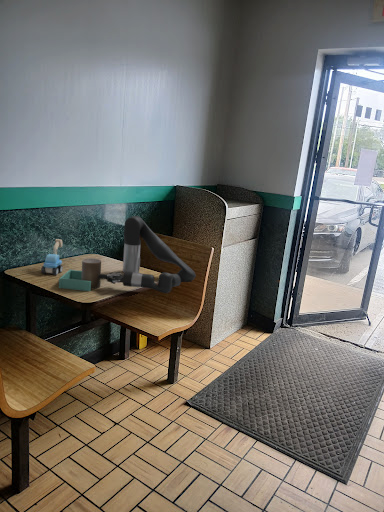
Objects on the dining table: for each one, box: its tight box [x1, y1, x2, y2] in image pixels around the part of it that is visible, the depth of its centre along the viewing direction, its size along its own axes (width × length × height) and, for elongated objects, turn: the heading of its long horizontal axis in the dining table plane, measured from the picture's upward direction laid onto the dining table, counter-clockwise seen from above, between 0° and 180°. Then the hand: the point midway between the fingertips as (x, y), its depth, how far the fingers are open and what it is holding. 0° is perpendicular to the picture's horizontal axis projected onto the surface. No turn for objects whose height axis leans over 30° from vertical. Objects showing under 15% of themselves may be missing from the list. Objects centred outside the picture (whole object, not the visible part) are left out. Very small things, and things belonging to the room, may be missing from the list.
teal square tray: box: [58, 268, 91, 292], centre depth 219 cm, size 16×17×5 cm
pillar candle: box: [81, 257, 102, 290], centre depth 218 cm, size 10×10×15 cm
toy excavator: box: [40, 238, 64, 276], centre depth 235 cm, size 9×17×17 cm, turn 174°
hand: (99, 276), depth 217 cm, fingers closed
